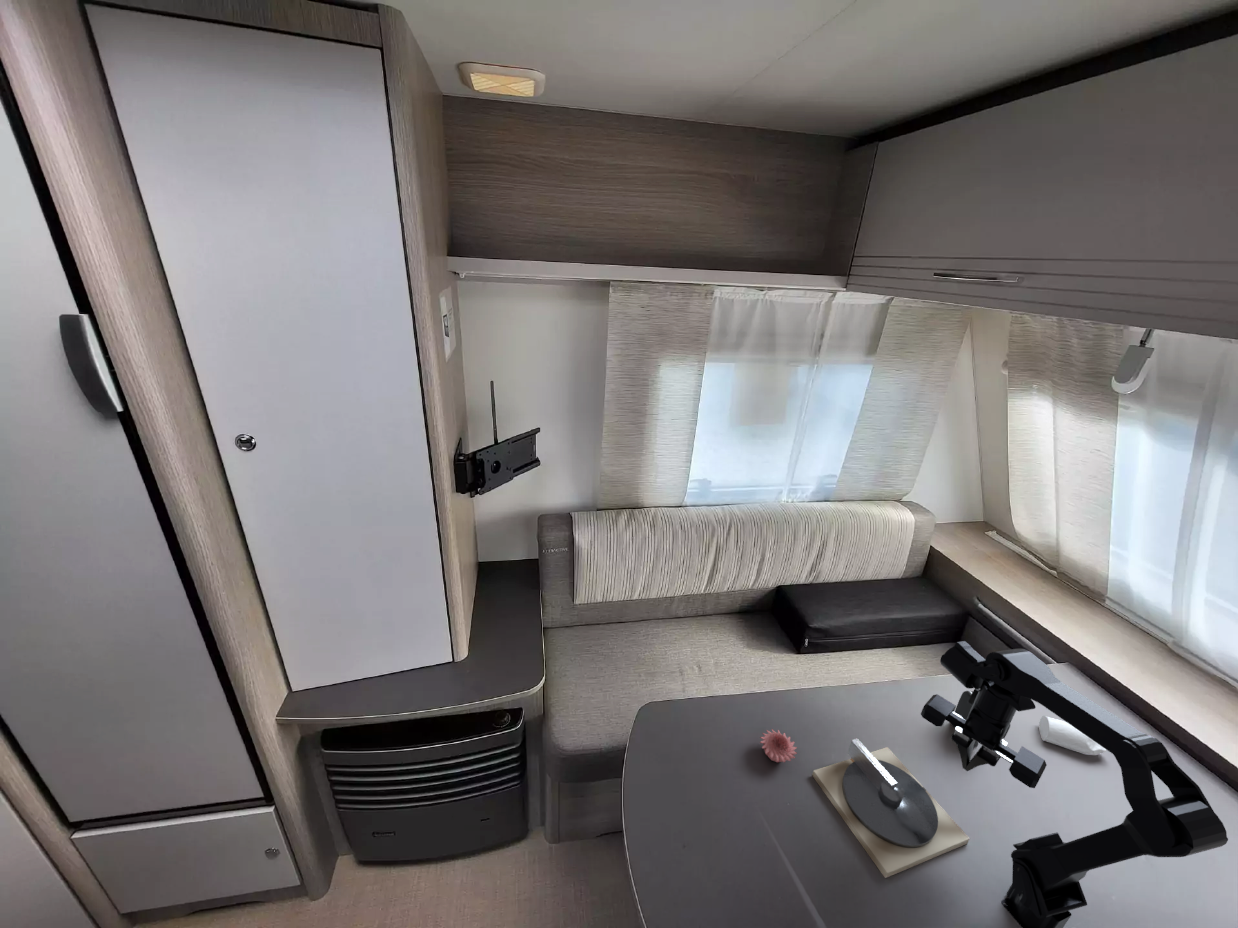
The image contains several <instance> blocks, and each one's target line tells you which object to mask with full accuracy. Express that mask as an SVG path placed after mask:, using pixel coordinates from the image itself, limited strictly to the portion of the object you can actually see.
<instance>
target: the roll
mask: <svg viewBox="0 0 1238 928" xmlns="http://www.w3.org/2000/svg"><path fill="white" fill-rule="evenodd" d="M1038 731H1039V733H1040V737H1041V738H1040V739H1041V740H1042V741H1043V742H1047V743H1049V744H1053V745H1056V746H1058V747H1062V748H1065V749H1067V750H1070V751H1074V752H1077V753H1080V754H1083V755H1086V756H1087V755H1090V756H1098V755H1100V754H1104V753H1105V752H1108V750H1106V749H1105V748H1103V747H1102V746H1100V745H1099V744H1098V743H1096V742H1095V741H1093V740H1092V739H1090V738H1089V737H1087V736H1086V735H1085V734H1083V733H1082V732H1080V731H1079V730H1077V729H1076V728H1074V727H1073V726H1072V725H1070V724H1069V723H1067V722H1066V721H1064V720H1063V719H1062V720H1061V719H1057V718H1053V717H1051V716H1050V717H1049V716H1048V715H1047V716H1046V715H1042V716H1041V717H1040V718H1039V722H1038Z"/></svg>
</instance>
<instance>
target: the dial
mask: <svg viewBox="0 0 1238 928" xmlns="http://www.w3.org/2000/svg"><path fill="white" fill-rule="evenodd" d="M849 743H850V744H849V745H848V750H847V752H846V754H847V755H848V757H850V759H851V758H852V760H853V761H854V762H853V763H851V764H850V765H849V766H848V767H847V769H846V771H845V774H844V777H843V781H842V789H843V794H844V797H845V800H846V802H847V804H848V806H849V808H850V810H851V811H852V813H853V814H854V815H855V817H856V818H857V819H858V820H859V821H860V822H861V823H862V824H863V825H864V826H865V827H866V828H867V829H868V830H869V831H870V832H872V833H873V834H875V835H876V836H878V837H879V838H881V839H882V840H884V841H886V842H889V843H891V844H894V845H896V846H900V847H905V848H918V847H922V846H925V845H926V844H928V843H929V842H930V841H931V840H932V839H933V837H934V835H935V833H936V831H937V828H938V816H937V811H936V809H935V806H934V804H933V802H932V800H931V798H930V797H929V795H928V794H927V792H926V791H925V790H924V789H923V787H924V786H923V785H922V784H921V783H920V782H919V783H920V784H921V785H922V786H923V787H922V786H921V785H920V784H919V783H918V782H917V781H916V780H915V779H914V778H912V777H911V776H910V775H909V774H907V773H906V772H905V771H903V770H901V769H900V768H898V767H896V766H894V765H892V764H890V763H887V762H884V761H881V760H877V759H876V758H875V757H874V756H873V755H872V754H871V753H870V752H871V751H869V749H868V748H867V747H866V746H865V745H864V744H863V743H862V741H860V740H859V738H858V737H857V738H854V739H851V740H850V742H849Z"/></svg>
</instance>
